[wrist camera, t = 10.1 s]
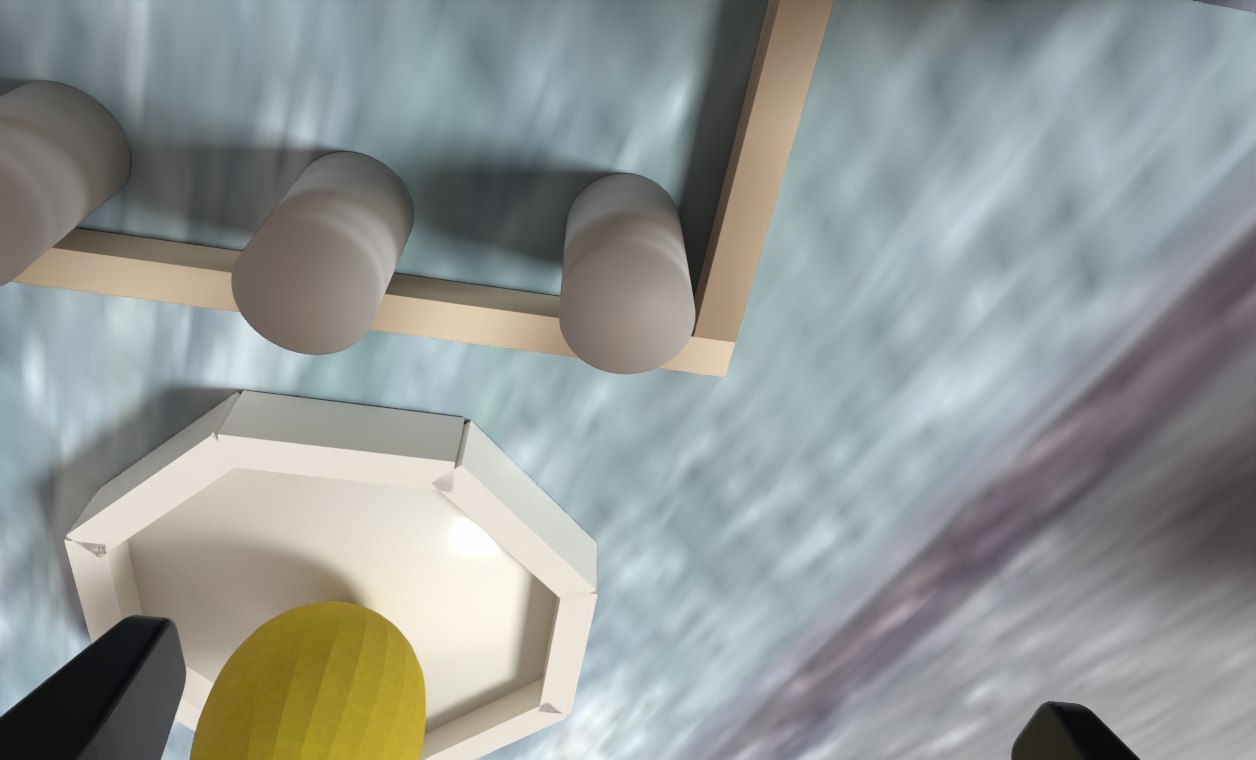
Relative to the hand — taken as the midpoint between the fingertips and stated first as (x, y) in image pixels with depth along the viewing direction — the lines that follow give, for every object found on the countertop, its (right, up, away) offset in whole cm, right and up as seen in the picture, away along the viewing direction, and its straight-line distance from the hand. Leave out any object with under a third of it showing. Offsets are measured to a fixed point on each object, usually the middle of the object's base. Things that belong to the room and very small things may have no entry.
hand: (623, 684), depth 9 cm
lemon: (-8, -3, +17) cm, 19 cm away
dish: (-8, -3, +17) cm, 19 cm away
